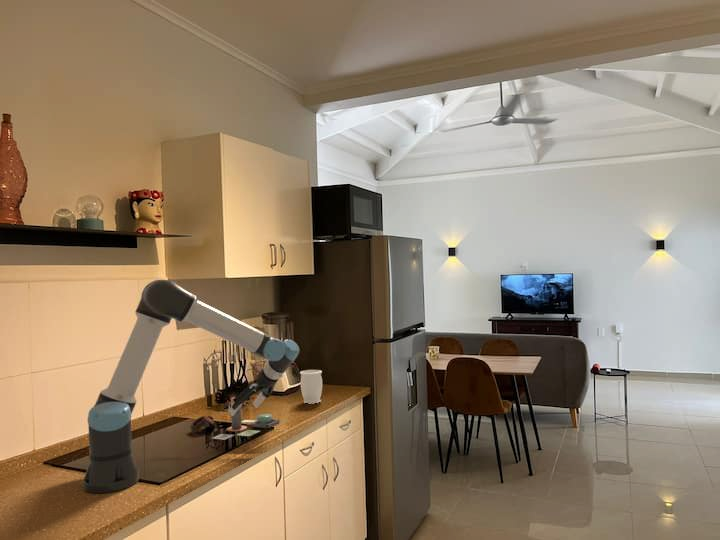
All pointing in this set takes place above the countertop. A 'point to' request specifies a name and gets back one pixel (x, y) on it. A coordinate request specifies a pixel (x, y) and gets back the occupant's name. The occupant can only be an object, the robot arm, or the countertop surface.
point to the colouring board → (247, 432)
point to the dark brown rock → (203, 424)
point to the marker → (236, 418)
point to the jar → (311, 386)
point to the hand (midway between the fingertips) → (243, 409)
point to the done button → (264, 418)
